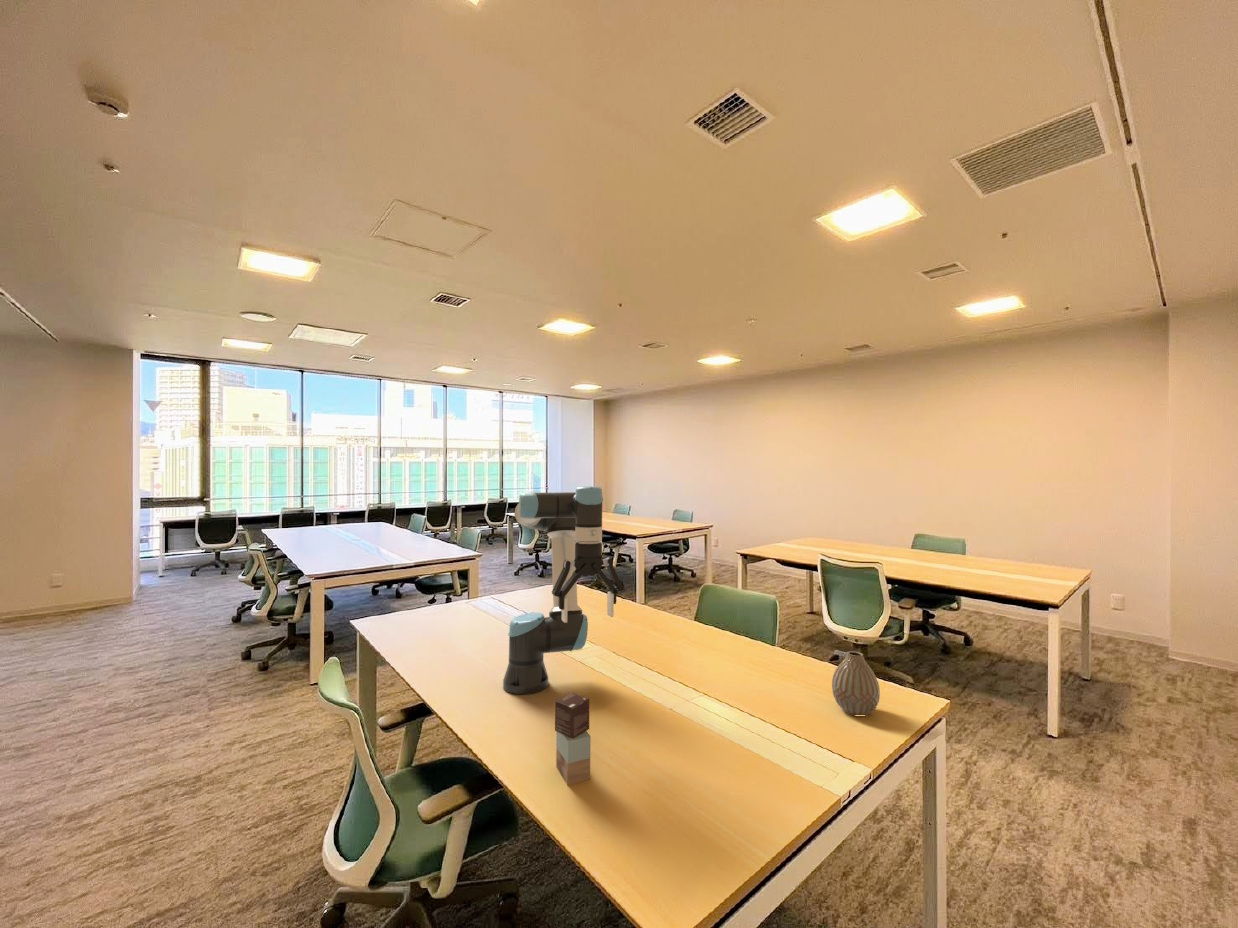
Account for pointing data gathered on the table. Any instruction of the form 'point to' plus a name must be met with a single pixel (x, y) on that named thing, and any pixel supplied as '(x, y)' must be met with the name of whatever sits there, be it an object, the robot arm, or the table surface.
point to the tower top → (574, 747)
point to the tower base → (573, 769)
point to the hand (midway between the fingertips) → (587, 618)
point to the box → (572, 715)
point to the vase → (855, 685)
